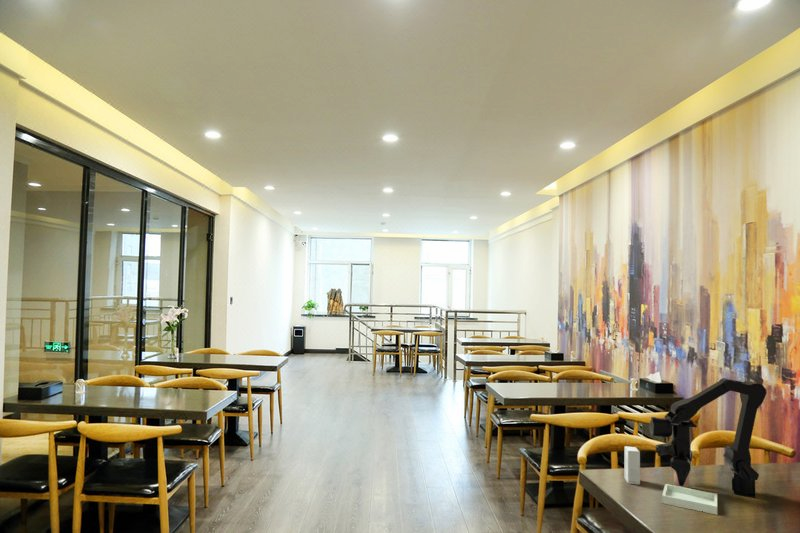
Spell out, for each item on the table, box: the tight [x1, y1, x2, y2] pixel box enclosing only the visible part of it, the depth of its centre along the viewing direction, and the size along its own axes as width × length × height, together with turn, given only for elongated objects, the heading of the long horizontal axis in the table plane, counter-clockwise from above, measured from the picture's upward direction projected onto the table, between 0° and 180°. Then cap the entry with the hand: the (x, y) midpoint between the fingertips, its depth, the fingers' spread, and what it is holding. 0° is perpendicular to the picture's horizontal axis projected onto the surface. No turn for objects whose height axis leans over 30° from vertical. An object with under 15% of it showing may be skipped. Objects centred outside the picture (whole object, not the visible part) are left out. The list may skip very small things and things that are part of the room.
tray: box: [661, 483, 718, 515], centre depth 169 cm, size 16×13×2 cm
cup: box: [673, 469, 691, 489], centre depth 182 cm, size 5×5×7 cm
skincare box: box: [623, 445, 641, 486], centre depth 187 cm, size 6×4×12 cm
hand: (681, 481), depth 182 cm, fingers open, 9 cm apart
